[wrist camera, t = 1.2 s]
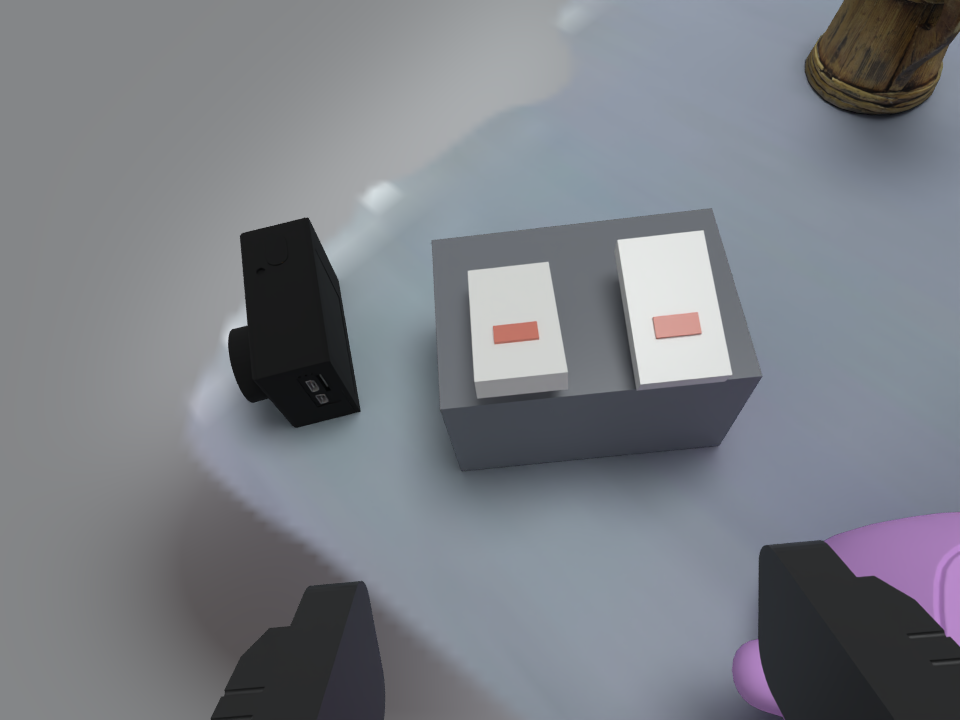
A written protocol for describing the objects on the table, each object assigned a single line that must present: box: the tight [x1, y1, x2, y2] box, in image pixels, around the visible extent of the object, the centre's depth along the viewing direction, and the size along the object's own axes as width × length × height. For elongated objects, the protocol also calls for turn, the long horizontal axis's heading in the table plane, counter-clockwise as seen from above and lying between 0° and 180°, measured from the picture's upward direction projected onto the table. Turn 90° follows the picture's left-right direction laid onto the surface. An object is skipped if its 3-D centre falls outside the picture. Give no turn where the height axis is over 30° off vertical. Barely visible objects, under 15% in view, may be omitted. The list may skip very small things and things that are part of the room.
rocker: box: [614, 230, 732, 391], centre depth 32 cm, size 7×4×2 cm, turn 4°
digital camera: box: [228, 218, 360, 428], centre depth 42 cm, size 10×5×7 cm, turn 13°
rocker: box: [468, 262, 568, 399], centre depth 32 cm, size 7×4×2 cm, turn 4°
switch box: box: [432, 208, 762, 471], centre depth 38 cm, size 10×15×9 cm, turn 94°
